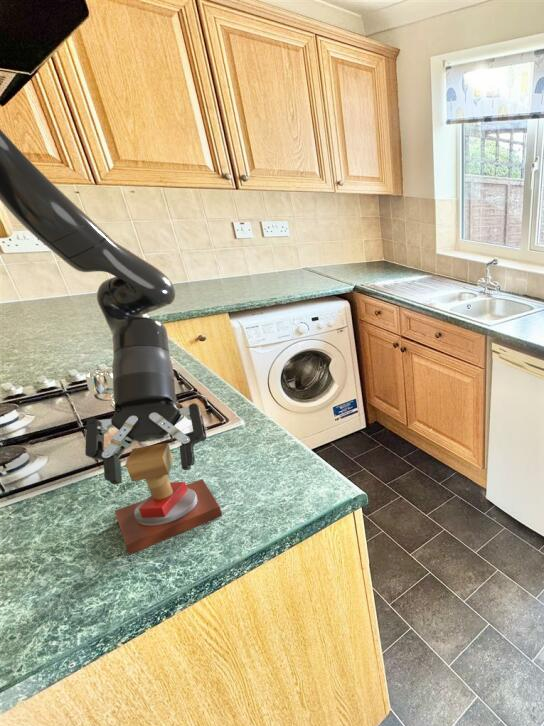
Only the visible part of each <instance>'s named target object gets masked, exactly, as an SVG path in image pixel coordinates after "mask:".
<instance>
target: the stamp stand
mask: <svg viewBox="0 0 544 726" xmlns="http://www.w3.org/2000/svg"><path fill="white" fill-rule="evenodd" d="M186 487H187V488H189V489H192V490H193V491H194V492H195V493H196V495H197V499H198V501H197V504H196V505H195V507H194V508H193V509H192V510H191V511H190V512H189V513H187V514H186V515H184V516H182V517H181V518H179V519H177V520H174V521H172V522H169V523H166V524H161V525H155V526H146V525H142V524H140V523H138V522H137V520H136V518H135V516H134V512H135V509H136V508H137V506H138V505H139V504H140V503H141V502H143V501H144V500H145V499H143V500H141V501H137V502H134V503H131V504H128V505H127V506H123V507H120V508H117V509H116V510H114V514H115V516H116V520H117V523H118V526H119V530H120V532H121V536H122V538H123V542H124V545H125V548H126V550H127V552H128V555H133V554H135V553H137V552H140V551H142V550H145V549H147V548H150V547H152V546H154V545H156V544H158V543H161V542H163V541H166V540H168V539H170V538H172V537H175V536H178V535H180V534H183V533H185V532H187V531H189V530H192V529H194V528H197V527H199V526H201V525H203V524H207V523H209V522H211V521H213V520H216V519H219V518H221V517H222V516H223V513H222V510H221V507H220V504H219V503H218V502H217V500H216V498H215V497H214V495H213V494H212V492H211V490H210V488H209V487H208V485H207V483H206V482H205V480H204V479H203V478H201V479H199V480H196V481H193V482H190V483H188V484H186Z"/></svg>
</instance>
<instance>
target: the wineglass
mask: <svg viewBox="0 0 544 726" xmlns="http://www.w3.org/2000/svg"><path fill="white" fill-rule="evenodd" d="M86 385H87V390H88V392H89V394H90V396H92V398H94V399H95V400H97V401H101V402H109V405H110V406H111V407H112V409H113V410H114V411H115V406H114V389H113V374H112V368H103V369H98V370H97V369H96V370H94V371H91V372H88V373H87V374H86ZM113 427H114V426H112V427H111V428H113ZM114 428H115V427H114Z"/></svg>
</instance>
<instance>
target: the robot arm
mask: <svg viewBox="0 0 544 726" xmlns="http://www.w3.org/2000/svg"><path fill="white" fill-rule="evenodd" d="M0 202H1V203H2V204H3V205H4V207H6V209H7V210H8V211H9V212H10V213H11V214H12V216H14V218H15V219H16V220H17V221H18V222H19V223H20V224H21V225H22V226H23V227H24V228H25V229H26V230H28V232H30V234H31V235H33V237H35V238H36V239H37V240H39V241H40V242H41V243H43V245H44V246H46V247H47V248H48V249H49V250H50V251H52V252H53V253H54V254H56V256H58V257H59V258H60V259H62V261H64V262H65V263H66V264H67V265H68V266H70V267H72V269H74V270H75V271H78V272H81V273H94V272H95V273H96V272H101V273H107V274H110V275H112V276H113V277H111V278H108V279H106V280H104V281H103V282H102V283H101V284H100V285H98V289H97V291H96V300H97V305H98V306H99V308H100V311H101V313H102V315H103V318H104V319H105V322H106V324H107V326H108V327H109V331H110V332H111V335H112V350H113V352H112V353H113V357H112V364H111V365H112V367H111V369H112V374H113V389H114V406H115V410H114V414H113V416H112V418H105V419H97V418H95V417H91V418H88V419H87V420H86V425H85V426H86V428H85V451H84V454H85V456H86V457H88V458H91V459H92V460H95V461H103V462H102V463H103V477H104V479H105V480H106V481H107V482H109V483H110V484H112V485H121V484H122V483H123V477H122V475H123V474H122V462H121V461H122V460H121V459H120V458H121V456H122V455H123V454H124V453H125V451H126V450H128V449H130V447H131V446H132V445H133V444H134V442H138V443H141V442H146V441H149V440H151V439H152V440H159V439H164V438H165V437H166V436H168V434H169V435H170V436H172V437H173V438H174V439H175V440H176V441H178V442H180V444H181V445H179V452H180V453H179V455H180V464H181V469H182V470H183V471H190V470H191V469H192V467H193V466H194V465H195V462H196V459H195V451H194V450H195V449H194V447H195V445H196V444H198V443H200V442H205V441H206V440H207V432H206V427H205V421H204V417H203V416H204V415H203V411H202V408H201V407H200V406H199V405H198V404H197V403H191V404H190V405H188V406H185V407H181V408H179V407H178V404H177V396H176V395H177V394H176V385H175V372H174V368H173V367H174V366H173V363H172V359H171V356H170V355H171V354H170V347H169V346H170V345H169V337H168V331H167V328H166V326H165V325H164V323H162V322H161V321H159V320H157V319H155V318H151V317H145V316H144V315H147V314H149V313H151V312H155V311H158V310H160V309H163V308H165V307H167V306H169V305H171V304H172V303H174V301H175V299H176V289H175V287H174V285H173V283H172V281H171V279H169V278H168V276H167V275H166V274H165V273H164V272H163V271H162V270H161V269H159V268H158V267H156V266H155V265H153V264H152V263H150V262H148V261H146V260H145V259H143V258H141V257H140V256H139V255H137V254H135V253H134V252H133V251H130V250H129V249H127V248H125V247H124V246H122V245H121V244H119V243H118V242H116V241H115V240H114V239H112V238H111V237H110V236H109V235H108V234H107V233H106V232H105V231H104V230H103V229H102V228H101V227H100V226H99V225H97V223H95V221H93V220H92V219H91V218H90V217H89V216H88V215H87V213H85V212H84V211H83V210H82V209H81V208H80V207H78V206H77V204H75V203H74V201H72V200H71V198H69V197H68V196H67V195H66V194H65V193H64V192H63V191H62V190H60V188H59V187H57V186H56V185H55V184H54V183H53V182H52V181H51V180H50V179H49V178H48V177H47V176H46V175H45V174H44V173H43V172H41V170H40V169H38V167H37V166H35V164H34V163H32V161H31V160H30V159H29V158H28V157H27V156H25V154H24V153H23V152H22V151H21V150H20V149H19V147H17V146H16V145H15V144H14V142H13V141H12V140H11V139H10V138H9V137H8V136H7V135H6V133H4V131H3V130H2V129H1V128H0ZM143 316H144V317H143ZM182 416H184V417H185V419H187V420H188V421H191V422H190V423H191V427H192V431H193V433H191V434H189V435H186V434H185V433H184V432H183V431H182V430H181V429H179V428H177V427H176V425H177V423H178V422H179V420H180V419H181V418H182ZM112 426H114V428H115V429H117V430H118V431H117V432H116V434H115V435H114V436H113V437H112V438H111V440H110V443H109V444H108V446H106V447H105V434H108V433H109V431H110V429H111V428H113V427H112ZM191 466H192V467H191Z"/></svg>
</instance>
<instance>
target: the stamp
mask: <svg viewBox="0 0 544 726" xmlns="http://www.w3.org/2000/svg"><path fill="white" fill-rule="evenodd" d="M173 462H174V456H173V454H172V451H171V447H170V444H169V442H164V443H159V444H153V445H147V446H141V447H135V448H132V449H131V451H130V453H129V455H128V458H127V459H126V461H125V468H126V471H127V472H128V475H129V477H130V478H129V479H130V480H131V482H137V481H142V480H145V482H146V485H147V488H148V490H149V493H150V496H148V497H147V498H145V499H143V500H144V501H143V500H142V501H143V502H141V503H140V504H139V505H138V506H137V508H136V509H135V512H134V516H135V518H136V520H137V522H138V523H140V524H142V525H146V526H155V525H161V524H166V523H169V522H172V521H174V520H177V519H179V518H181V517H182V516H184V515H186V514H187V513H189V512H190V511H191V510H192V509H193V508H194V507H195V505H196V504H197V501H198V499H197V495H196V493H195V492H194V491H193V490H192V489H189V488H187V487H186V485H187V484H186V481H173V482H171V481H170V479H169V476H168V475H169V474H170V472H171V469H172V466H173Z"/></svg>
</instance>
